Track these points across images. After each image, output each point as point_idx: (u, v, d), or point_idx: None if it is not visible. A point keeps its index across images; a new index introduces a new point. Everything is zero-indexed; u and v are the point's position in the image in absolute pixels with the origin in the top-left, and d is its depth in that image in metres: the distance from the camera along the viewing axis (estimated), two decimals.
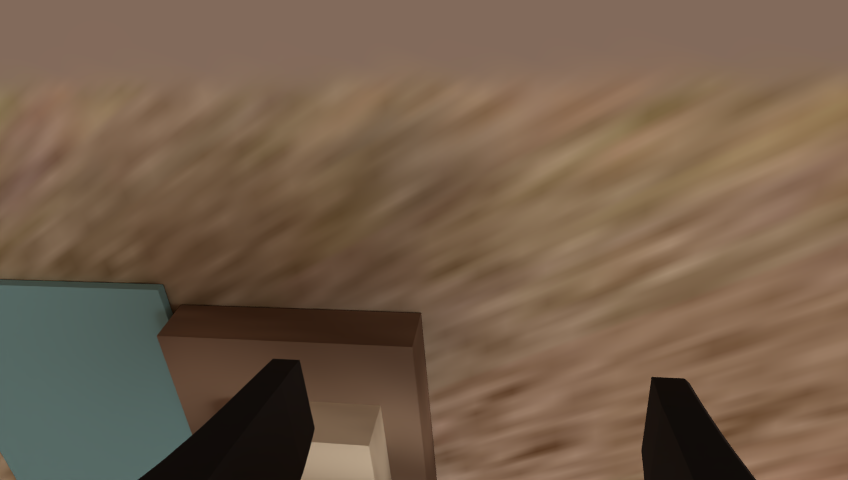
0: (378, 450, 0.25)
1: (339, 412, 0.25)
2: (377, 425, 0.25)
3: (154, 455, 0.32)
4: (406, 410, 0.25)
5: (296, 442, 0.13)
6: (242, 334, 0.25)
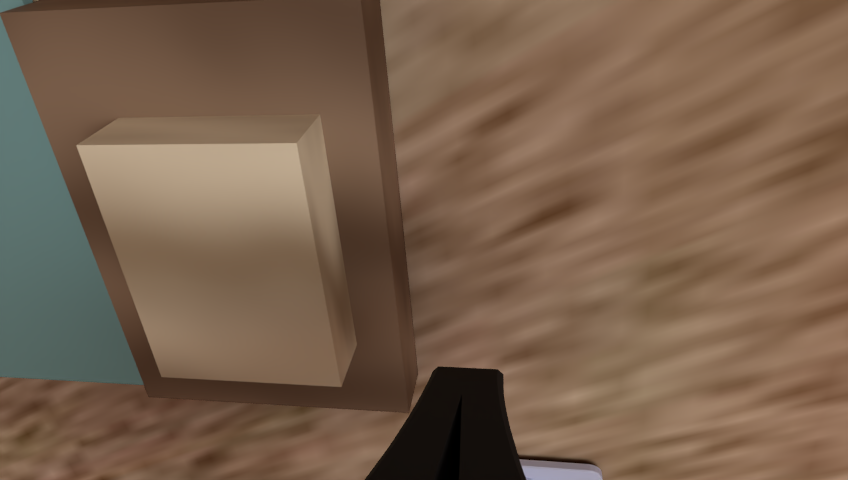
0: (316, 175, 0.17)
1: (260, 121, 0.17)
2: (314, 136, 0.17)
3: (38, 257, 0.24)
4: (356, 120, 0.18)
5: None
6: (119, 4, 0.17)
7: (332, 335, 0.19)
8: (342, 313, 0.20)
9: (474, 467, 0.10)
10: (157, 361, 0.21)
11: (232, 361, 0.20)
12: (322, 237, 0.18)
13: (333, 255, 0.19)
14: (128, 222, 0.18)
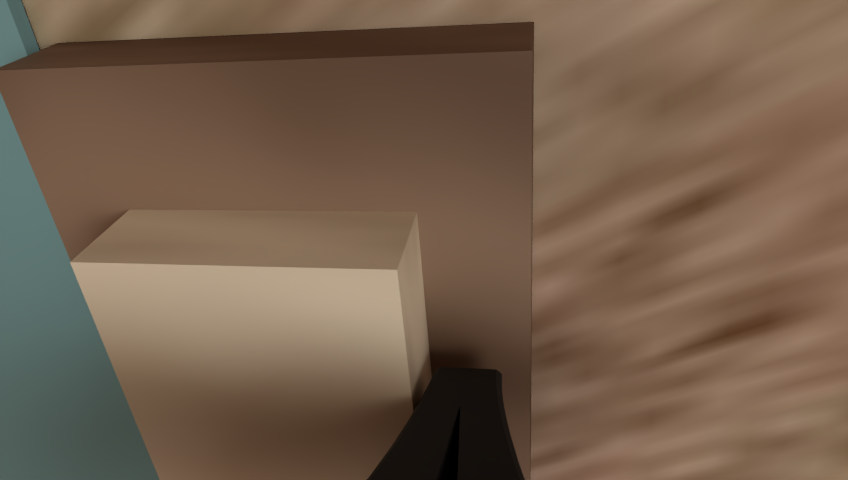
0: (413, 300, 0.12)
1: (333, 223, 0.12)
2: (411, 247, 0.12)
3: (45, 365, 0.19)
4: (504, 222, 0.12)
5: None
6: (164, 60, 0.12)
7: None
8: None
9: (473, 467, 0.10)
10: None
11: None
12: (417, 382, 0.13)
13: None
14: (144, 361, 0.13)
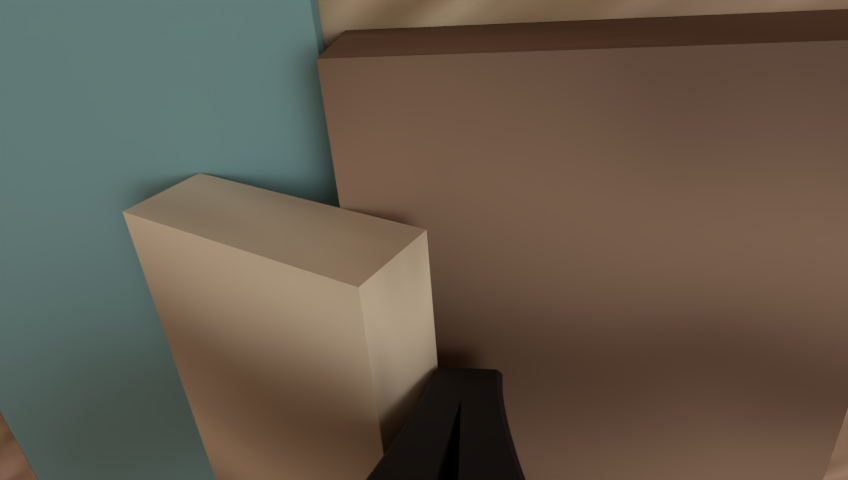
0: (400, 320, 0.12)
1: (343, 224, 0.12)
2: (407, 265, 0.11)
3: None
4: None
5: None
6: (516, 47, 0.11)
7: None
8: None
9: (473, 467, 0.10)
10: (211, 463, 0.17)
11: None
12: (398, 405, 0.12)
13: None
14: (176, 312, 0.14)
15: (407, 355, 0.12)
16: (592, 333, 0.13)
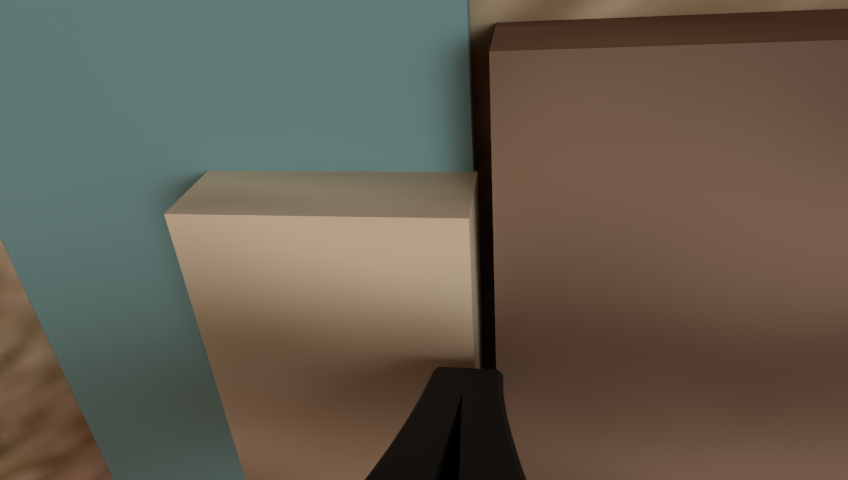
0: (475, 252, 0.13)
1: (402, 181, 0.13)
2: (474, 202, 0.13)
3: None
4: None
5: None
6: (705, 39, 0.10)
7: None
8: None
9: (474, 467, 0.10)
10: (245, 469, 0.17)
11: (341, 472, 0.16)
12: (476, 329, 0.14)
13: (479, 346, 0.15)
14: (225, 308, 0.14)
15: (476, 284, 0.14)
16: (747, 338, 0.13)
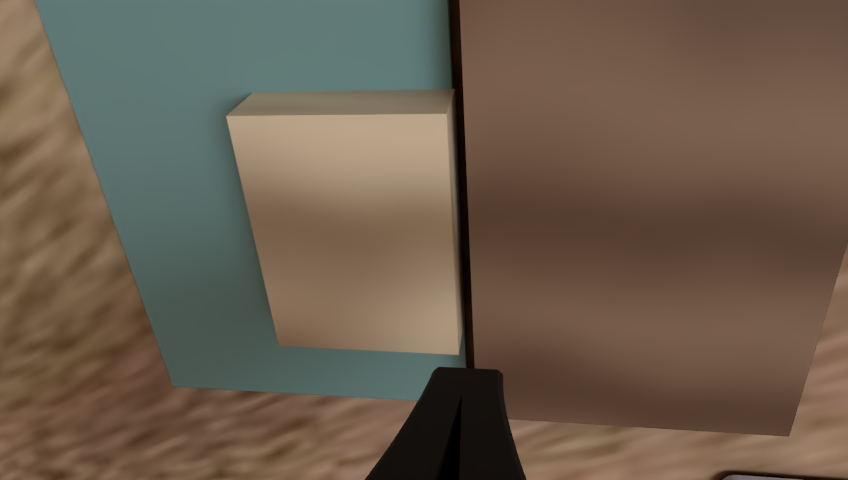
0: (452, 147, 0.18)
1: (399, 95, 0.18)
2: (452, 109, 0.18)
3: None
4: None
5: None
6: None
7: (456, 303, 0.20)
8: (460, 283, 0.21)
9: (474, 467, 0.10)
10: (277, 330, 0.21)
11: (352, 329, 0.21)
12: (454, 207, 0.19)
13: (457, 226, 0.20)
14: (267, 191, 0.19)
15: (454, 173, 0.19)
16: (649, 206, 0.18)
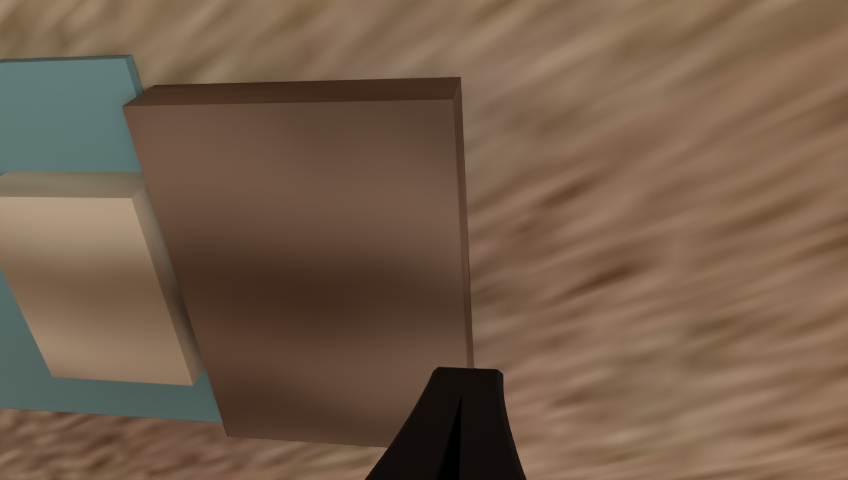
0: (157, 219, 0.22)
1: (114, 177, 0.22)
2: None
3: None
4: (442, 202, 0.20)
5: None
6: (231, 100, 0.19)
7: (180, 344, 0.24)
8: None
9: (474, 467, 0.10)
10: (48, 364, 0.25)
11: (106, 364, 0.25)
12: (166, 267, 0.23)
13: None
14: (13, 254, 0.23)
15: None
16: (308, 269, 0.22)
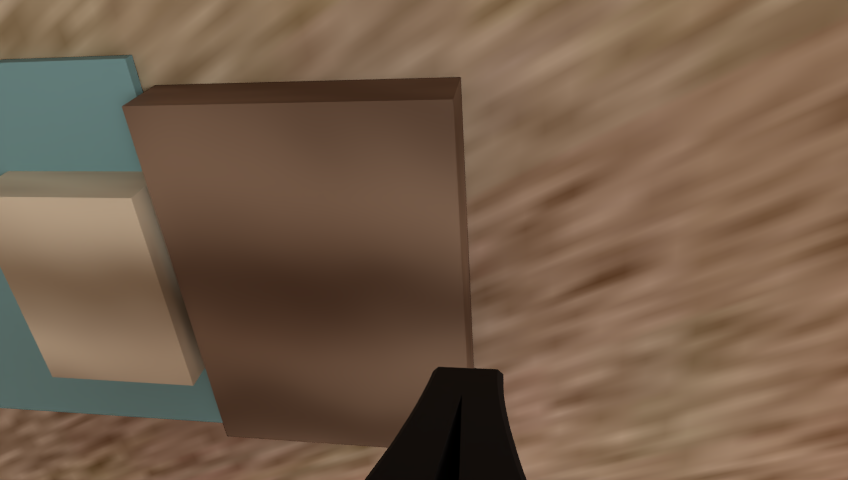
0: (157, 219, 0.22)
1: (114, 177, 0.22)
2: None
3: None
4: (442, 202, 0.20)
5: None
6: (231, 100, 0.19)
7: (180, 344, 0.24)
8: None
9: (474, 467, 0.10)
10: (48, 364, 0.25)
11: (106, 364, 0.25)
12: (166, 267, 0.23)
13: None
14: (13, 254, 0.23)
15: None
16: (308, 269, 0.22)
